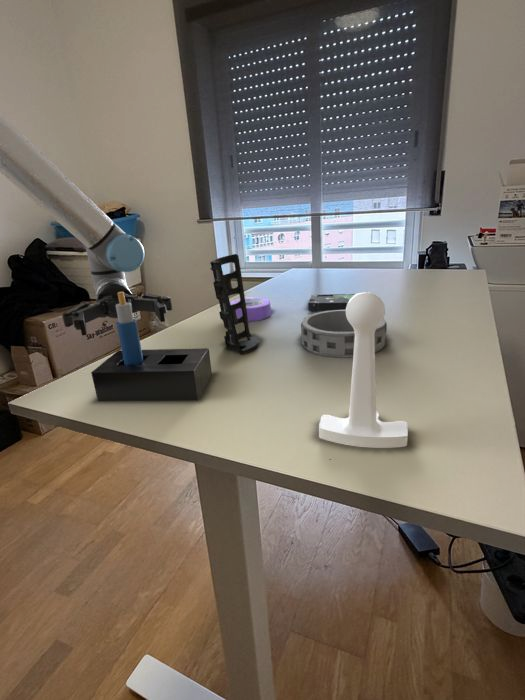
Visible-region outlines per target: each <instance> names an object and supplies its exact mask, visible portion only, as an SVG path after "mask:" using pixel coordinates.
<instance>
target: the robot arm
mask: <svg viewBox="0 0 525 700" xmlns="http://www.w3.org/2000/svg"><path fill="white" fill-rule="evenodd" d="M0 174H1V175H3V176H4V177H5V178H6V179H7V180H8V181H10V182H11V184H13V185H14V186H15V187H17V188H18V189H19V190H20V191H21V192H22V193H23V194H25V195H26V196H27V197H29V199H31V200H32V201H33V202H34V203H35V204H36V205H37V206H39V208H41V209H42V210H43V211H44V212H46V214H47V215H49V216H50V217H51V218H52V219H54V220H55V221H56V222H57V223H58V224H60V225H61V227H63V228H64V229H65V230H66V231H68V233H70V234H71V235H73V236H74V238H76V240H78V241H79V242H80V243H82V244H83V245H84V247H85V251H86V255H87V260H88V264H89V268H90V275H91V279H92V284H93V290H94V294H95V298H96V300H95V302H94V303H92V304H91V303H90V302H89V301H86V300H83V301H81V302H80V303H79V304H77V305H75V306H74V307H72V308H70V309H67V310H66V311H65V312H62V313H61V317H62V321H63V325H64V328H70V327H72V326H73V328H75V330H76V331H80V332H81V336H87V334H88V332H87V323H89V322H92V321H94V320H96V319H98V318H101V319H102V318H104V319H105V318H107V317H108V318H111V319H118V316H117V311H116V306H115V305H116V304H119V298H118V292H124V296H125V301H126V302H127V303H130V304H131V309H132V314H134V313H135V314H136V313H139V312H147V313H154V314H155V316H156V317H157V319H158V320H159V321H160V323H163V322H166V319H165V314H168V312H170V311H173V303H172V297H170V296H165V295H164V296H163V295H158V294H151V293H149V292H143V293H142V294H141V297H138V295H134V294H133V293H132V292H131V290H130V288H129V287H128V284H127V279H126V273H130V272H131V273H132V272H135V271H136V270H138V269H139V268H140V267H141V266H142V265H143V263H144V260H145V249H144V246H143V244H142V243H141V241H140V240H138V239H137V238H136V237H134V236H133V235H131V234H128V233H126V232H125V231H124V230H123V229H122V228H120V226H119V225H117V224H116V223H115V222H114V221H113V220H112V219H111V218H110V217H109V216H108V215H107V214H106V213H105V212H104V211H103V210H102V209H101V208H100V207H99V206H98V205H96V204H95V203H94V202H93V200H92V199H90V198H89V196H87V195H86V193H84V192H83V191H82V190H81V189H80V188H79V187H78V186H77V185H76V184H75V183H74V182H73V181H72V180H71V179H70V178H69V177H67V175H65V173H63V171H61V170H60V169H59V168H58V167H57V166H56V165H55V164H54V163H53V162H52V160H50V159H49V158H48V157H47V156H46V155H45V154H44V153H43V152H42V151H40V150H39V149H38V148H37V147H36V146H35V144H33V143H32V142H31V141H30V140H29V139H28V138H27V137H26V136H25V135H24V134H23V133H22V132H21V131H20V130H19V129H18V128H17V127H16V126H15V125H13V123H12V122H10V121H9V120H8V119H7V118H6V117H5V116H4V115H3V114H2V113H1V112H0Z"/></svg>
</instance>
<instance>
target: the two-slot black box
mask: <svg viewBox="0 0 525 700" xmlns="http://www.w3.org/2000/svg"><path fill="white" fill-rule="evenodd" d="M141 350H142V355H143V362H142V363H141V364H140V365H125V364H124V359H123V354H122V349H120V350H117V351H116V352H115V353H113V354H112V355H111V356H110V357H108V358H107V359H106V360H104V361H103V362H102V363H101V364H100V365H98V366H97V367H96V368H95V369H94V370H92V371H91V373H90V374H91V378H92V382H93V387H94V391H95V395H96V399H97V402H194V401H195V402H198V401H199V400H200V397H201V396H202V394H203V392H204V391H205V389H206V387H207V385H208V383H209V381H210V379H211V378H212V376H213V374H212V365H211V364H212V363H211V356H210V348H209V347H204V348H203V347H202V348H163V349H161V348H160V349H141Z"/></svg>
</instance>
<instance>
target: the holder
mask: <svg viewBox="0 0 525 700" xmlns="http://www.w3.org/2000/svg"><path fill="white" fill-rule="evenodd" d="M230 263H233V264H234V265H233V266H234V271H232V272H230V273H225V274H224V271H223V268H222V266H223V265H226V264H230ZM209 264H210V266H211V267H210V268H209V269H210V271H212V274H213V288H214V293H215V297H216V299H217V300H218V304H219V308H220V311H219V312H218V313H219V317H220V320H221V321H222V322H223V323H222V324H223V327H224V329H225V332H224V333H225V335H224V336H223V337H224V344H225V347H226V349H229V350H231V351H235V352H237V353H239V355H245V354H247V353H249V352H250V351H252V350H254V349H256V348H257V347H258V346H259V344H260V343H261V341H260V339H259V337H257V336H254V335H252V334H251V332H250V325H249V321H248V316H247V309H246V302H245V298H246V296H245V289H244V282H243V277H242V276H243V275H242V270H241V264H240V258H239V254H237V253H234V254H228V255H226V256H221V257H218V258H216V259H214V260H211V261H210V262H209ZM233 279H236V282H237V286H236V287H234V288H233V286H232V280H233ZM238 294H239V299H240V302H238V303H236V304H232V305H230V302H231V301H230V296H233V295H238ZM239 308H241V309H242V315H243V316H242V317H240V318H237V315H236V310H237V309H239ZM239 324H243V329H244V330H242V331H240V332H238V331H237V327H236V326H237V325H239ZM244 338H246V340H241V339H244ZM247 339H248V340H247Z"/></svg>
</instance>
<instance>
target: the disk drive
mask: <svg viewBox="0 0 525 700" xmlns="http://www.w3.org/2000/svg"><path fill="white" fill-rule="evenodd" d="M356 294H357V293H348V294H347V293H341V294H340V293H337V294H335V293H333V294H311V295H310V298H309V301H308V303H307V308H308V309H307V310H308V312H323V311H330V310H346V306H347V304H348V302H349V300H350V299H351V298H352V297H353V296H354V295H356Z"/></svg>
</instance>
